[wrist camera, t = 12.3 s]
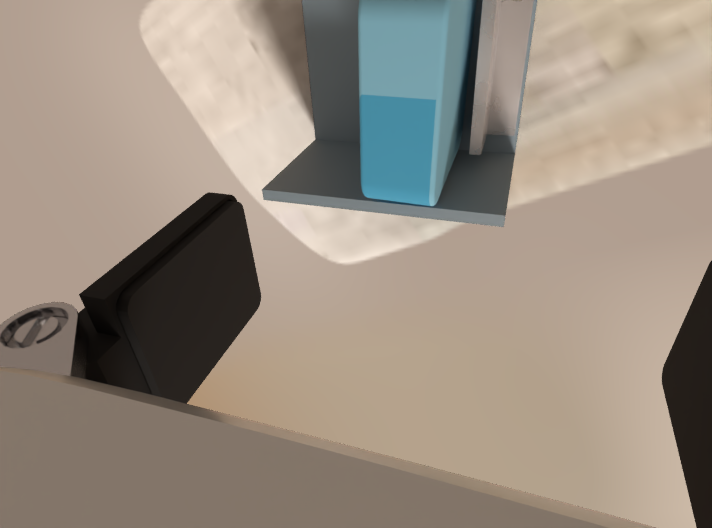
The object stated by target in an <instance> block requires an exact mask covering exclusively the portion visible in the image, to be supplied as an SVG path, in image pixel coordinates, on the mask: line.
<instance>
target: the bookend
mask: <svg viewBox="0 0 712 528" xmlns="http://www.w3.org/2000/svg"><path fill="white" fill-rule="evenodd" d="M533 2H534V0H483V3H482V14H481V25H480V36H479V48H478V59H477V70H476V81H475V93H474V104H473V115H472V126H471V138H470V149H469V154H472V155H481V153H482V149H483V146H484V143H485V139H486V136H487V134H492V135H508V136H515V129H516V122H517V115H518V108H519V101H520V94H521V87H522V80H523V73H524V66H525V59H526V52H527V45H528V38H529V31H530V24H531V17H532V10H533Z"/></svg>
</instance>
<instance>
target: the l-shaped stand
mask: <svg viewBox="0 0 712 528" xmlns="http://www.w3.org/2000/svg"><path fill="white" fill-rule="evenodd" d="M482 3H483V0H477V1H476V10H475V20H474V29H473V38H472V47H471V57H470V66H469V75H468V85H467V94H466V103H465V112H464V122H463V130H462V136H461V142H460V146H459V149H458V151H457V154H456V156H455V159H454V161H453V164H452V166H451V169H450V171H449V174H448V176H447V179H446V181H445V184H444V186H443V189H442V191H441V194H440V196H439V199H438V201H437V203H436V204H435V205H434V206H426V205H419V204H411V203H404V202H396V201H389V200H381V199H373V198H367V197H365V196H364V194H363V192H362V189H361V170H360V113H359V56H358V7H359V0H302V7H303V17H304V27H305V37H306V47H307V57H308V68H309V78H310V88H311V98H312V108H313V118H314V128H315V138H316V140H315V141H313V142H312V143H311V144H310V145H309V146H308V147H307V148H306V149H305V150H304V151H303V152H302V153H301V154H300V155H298V156H297V157H296V158H295V159H294V160H293V161H292V162H291V163H290V164H289V165H288V166H287V167H286V168H285V169H284V170H282V171H281V172H280V173H279V174H278V175H277V176H276V177H275V178H274V179H273V180H272V181H271V182H270V183H269V184H267V185H266V186H265V187H264V188H263V189H262V192H263V198H264V200H270V201H279V202H288V203H297V204H305V205H314V206H323V207H332V208H341V209H349V210H358V211H367V212H376V213H384V214H393V215H402V216H411V217H420V218H428V219H437V220H446V221H455V222H464V223H472V224H481V225H490V226H499V227H504V221H505V215H506V208H507V202H508V195H509V189H510V182H511V176H512V169H513V163H514V156H515V149H516V142H517V135H518V128H519V122H520V115H521V108H522V101H523V94H524V87H525V80H526V73H527V67H528V60H529V53H530V46H531V39H532V32H533V25H534V18H535V12H536V5H537V0H534V2H533V10H532V17H531V24H530V31H529V38H528V45H527V52H526V59H525V66H524V73H523V80H522V87H521V94H520V101H519V108H518V115H517V122H516V129H515V136H508V135H492V134H487V136H486V139H485V143H484V146H483V149H482V153H481V155H472V154H469V149H470V138H471V126H472V115H473V104H474V93H475V81H476V70H477V59H478V48H479V36H480V25H481V14H482Z"/></svg>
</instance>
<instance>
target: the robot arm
mask: <svg viewBox="0 0 712 528" xmlns="http://www.w3.org/2000/svg"><path fill="white" fill-rule="evenodd" d="M79 295H80V297H81V300H82V302H83V304H84V306H85V308H84V309H83V310H82V311H80V312H79V313H78V312H77V310H76V309H75V308H74V307H73V306H72V305H70V304H67V303H64V302H51V303H45V304H40V305H36V306H33V307H30V308H27V309H25V310H23V311H21V312H19V313H17V314H15V315H14V316H12V317H10V318H9V319H7V320H6V321H4V322H3V323H2V324H1V325H0V528H655V527H652V526H648V525H644V524H641V523H637V522H634V521H630V520H627V519H623V518H620V517H616V516H612V515H609V514H605V513H602V512H598V511H594V510H590V509H587V508H583V507H579V506H575V505H572V504H568V503H564V502H560V501H556V500H553V499H549V498H545V497H541V496H538V495H534V494H530V493H526V492H522V491H518V490H515V489H511V488H508V487H504V486H500V485H496V484H493V483H489V482H485V481H481V480H477V479H474V478H470V477H466V476H462V475H459V474H455V473H451V472H447V471H443V470H440V469H436V468H433V467H429V466H425V465H421V464H417V463H413V462H410V461H405V460H402V459H398V458H394V457H390V456H387V455H382V454H379V453H375V452H371V451H367V450H364V449H360V448H356V447H352V446H348V445H345V444H341V443H336V442H333V441H329V440H325V439H321V438H318V437H314V436H309V435H306V434H302V433H298V432H295V431H291V430H287V429H283V428H279V427H275V426H271V425H268V424H264V423H259V422H256V421H252V420H248V419H244V418H240V417H236V416H232V415H228V414H224V413H220V412H216V411H213V410H209V409H205V408H201V407H197V406H193V405H189V404H187V402H188V401H189V400H190V398H191V397H192V396H193V394H194V393H195V391H196V390H197V389H198V388H199V386H200V385H201V384H202V382H203V381H204V380H205V378H206V377H207V376H208V374H209V373H210V372H211V370H212V369H213V368H214V366H215V365H216V364H217V362H218V361H219V360H220V358H221V357H222V356H223V354H224V353H225V352H226V350H227V349H228V348H229V346H230V345H231V344H232V342H233V341H234V340H235V338H236V337H237V336H238V334H239V333H240V332H241V330H242V329H243V328H244V326H245V325H246V324H247V322H248V321H249V320H250V319H251V317H252V316H253V315H254V313H255V312H256V311H257V309H258V307H259V305H260V301H261V292H260V287H259V283H258V277H257V273H256V268H255V263H254V258H253V253H252V248H251V243H250V238H249V234H248V228H247V224H246V219H245V214H244V209H243V206H242V204H241V203H239V202H237V200H236V198H235V197H234V196H232V195H226V194H218V193H207V194H205V195H204V196H203V197H201V198H200V199H199V200H197V201H196V202H195V203H194V204H192V205H191V206H190V207H189V208H187V209H186V210H185V211H184V212H182V213H181V214H180V215H179V216H177V217H176V218H175V219H174V220H172V221H171V222H170V223H169V224H167V225H166V226H165V227H164V228H162V229H161V230H160V231H158V232H157V233H156V234H155V235H153V236H152V237H151V238H150V239H148V240H147V241H146V242H145V243H143V244H142V245H141V246H140V247H138V248H137V249H136V250H134V251H133V252H132V253H131V254H130V255H128V256H127V257H126V258H124V259H123V260H122V261H121V262H119V263H118V264H117V265H116V266H114V267H113V268H112V269H111V270H109V271H108V272H107V273H106V274H104V275H103V276H102V277H101V278H99V279H98V280H97V281H95V282H94V283H93V284H92V285H90V286H89V287H88V288H87V289H86V290H84V291H83V292H82V293H80V294H79ZM662 385H663V389H664V393H665V398H666V402H667V406H668V410H669V414H670V418H671V422H672V427H673V431H674V435H675V439H676V443H677V447H678V451H679V456H680V460H681V464H682V468H683V472H684V477H685V480H686V485H687V489H688V493H689V497H690V502H691V506H692V510H693V514H694V518H695V522H696V527H697V528H712V261H711V262H710V264H709V266H708V268H707V270H706V273H705V275H704V277H703V279H702V282H701V284H700V286H699V288H698V290H697V293H696V295H695V297H694V299H693V302H692V304H691V306H690V309H689V311H688V313H687V315H686V317H685V319H684V322H683V324H682V326H681V328H680V331H679V333H678V335H677V337H676V340H675V342H674V344H673V346H672V349H671V351H670V353H669V356H668V357H667V360H666V362H665V364H664V367H663V373H662Z"/></svg>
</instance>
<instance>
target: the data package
mask: <svg viewBox="0 0 712 528" xmlns="http://www.w3.org/2000/svg"><path fill="white" fill-rule="evenodd" d="M476 1H477V0H359V7H358V56H359V113H360V170H361V189H362V192H363V194H364V196H365V197H367V198H373V199H381V200H389V201H396V202H404V203H411V204H419V205H426V206H434V205H435V204H436V203H437V201H438V199H439V196H440V194H441V191H442V189H443V186H444V184H445V181H446V179H447V176H448V174H449V171H450V169H451V166H452V164H453V161H454V159H455V156H456V154H457V151H458V149H459V146H460V142H461V136H462V130H463V122H464V112H465V103H466V94H467V85H468V75H469V66H470V57H471V47H472V38H473V29H474V20H475V10H476Z"/></svg>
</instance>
